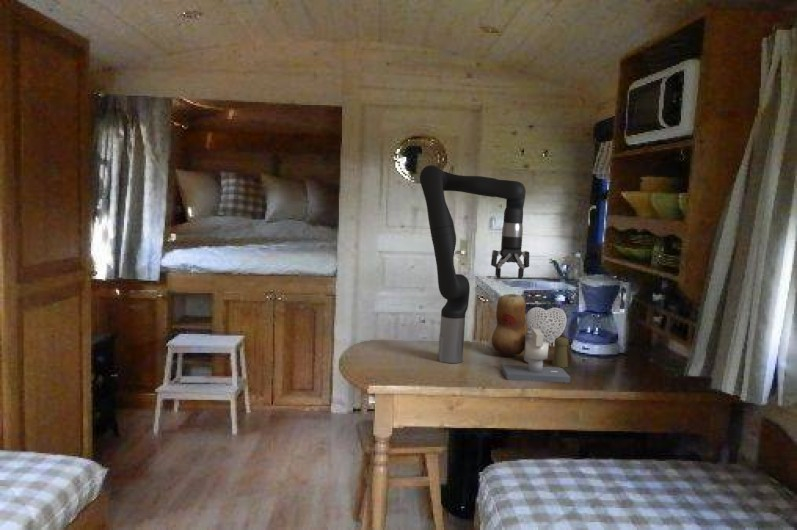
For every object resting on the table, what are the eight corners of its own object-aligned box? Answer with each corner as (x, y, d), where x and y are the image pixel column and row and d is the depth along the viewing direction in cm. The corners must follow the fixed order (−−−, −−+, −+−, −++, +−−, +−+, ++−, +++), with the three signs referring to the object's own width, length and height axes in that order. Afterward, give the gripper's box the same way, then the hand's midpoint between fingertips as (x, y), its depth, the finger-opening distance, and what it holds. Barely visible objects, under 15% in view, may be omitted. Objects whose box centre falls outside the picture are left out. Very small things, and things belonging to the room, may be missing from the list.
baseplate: (506, 379, 214) (508, 360, 213) (501, 369, 226) (502, 351, 225) (569, 382, 214) (571, 363, 213) (561, 372, 226) (562, 354, 225)
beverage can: (541, 361, 241) (543, 331, 239) (539, 365, 235) (541, 334, 233) (524, 359, 243) (527, 329, 241) (522, 363, 237) (524, 332, 235)
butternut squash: (487, 357, 243) (491, 295, 240) (494, 350, 255) (498, 290, 252) (522, 362, 238) (527, 298, 235) (528, 354, 250) (532, 294, 248)
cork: (568, 368, 232) (570, 340, 231) (551, 366, 233) (554, 338, 232) (567, 364, 238) (569, 336, 237) (551, 362, 239) (553, 335, 238)
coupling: (550, 361, 214) (551, 335, 213) (526, 359, 214) (528, 334, 213) (544, 353, 224) (546, 329, 223) (522, 351, 225) (524, 327, 224)
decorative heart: (559, 343, 272) (562, 305, 270) (568, 349, 261) (572, 310, 260) (520, 343, 270) (522, 304, 268) (528, 349, 259) (531, 309, 257)
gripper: (497, 235, 223) (494, 279, 225) (534, 236, 226) (531, 280, 228) (490, 233, 230) (487, 276, 232) (526, 235, 233) (523, 277, 235)
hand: (509, 278), depth 230 cm, fingers open, 8 cm apart
